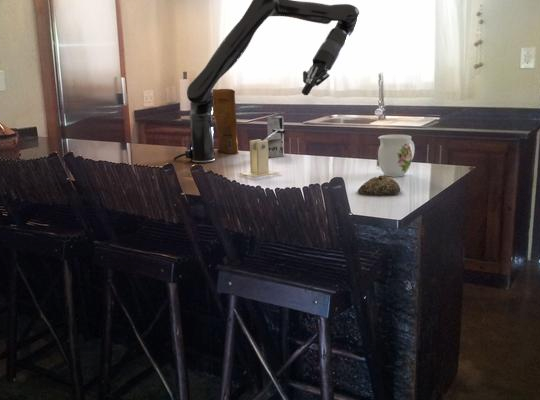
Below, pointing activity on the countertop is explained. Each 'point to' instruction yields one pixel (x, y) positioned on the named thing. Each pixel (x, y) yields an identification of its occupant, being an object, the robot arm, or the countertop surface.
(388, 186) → the mossy brown rock
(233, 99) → the pancake mix bag
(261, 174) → the bracket
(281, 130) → the lever
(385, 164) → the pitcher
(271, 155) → the coffee box
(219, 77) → the robot arm
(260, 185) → the countertop surface
